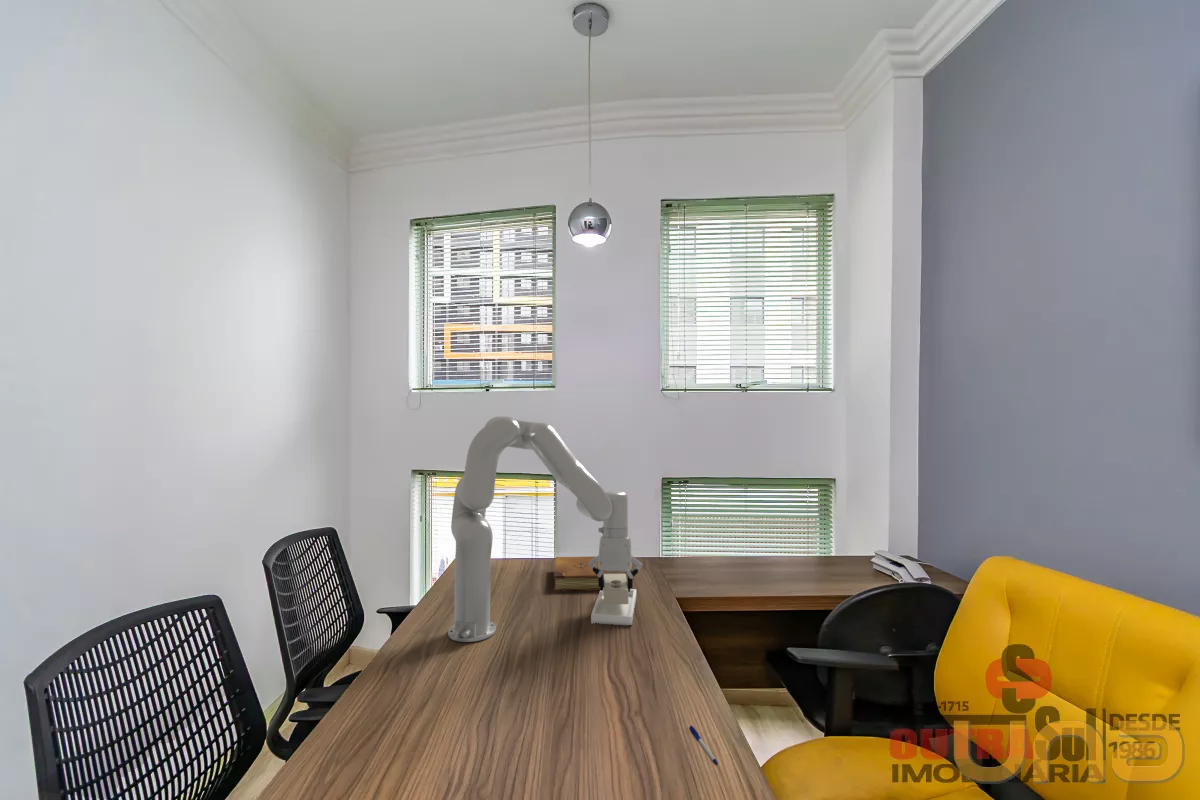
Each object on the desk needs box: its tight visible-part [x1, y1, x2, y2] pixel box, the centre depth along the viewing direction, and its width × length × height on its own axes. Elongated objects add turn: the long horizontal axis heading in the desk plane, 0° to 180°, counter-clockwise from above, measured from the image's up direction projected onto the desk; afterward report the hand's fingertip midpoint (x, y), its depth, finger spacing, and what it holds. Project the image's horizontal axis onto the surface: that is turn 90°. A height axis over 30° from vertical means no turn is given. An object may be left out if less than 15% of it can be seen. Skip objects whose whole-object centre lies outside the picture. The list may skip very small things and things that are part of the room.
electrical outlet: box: [604, 573, 629, 604], centre depth 157 cm, size 7×4×18 cm
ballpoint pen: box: [689, 724, 718, 765], centre depth 92 cm, size 10×1×1 cm, turn 16°
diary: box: [553, 555, 609, 592], centre depth 184 cm, size 23×19×6 cm
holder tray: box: [590, 588, 637, 626], centre depth 156 cm, size 23×12×2 cm, turn 173°
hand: (615, 589), depth 156 cm, fingers closed on electrical outlet, 7 cm apart
